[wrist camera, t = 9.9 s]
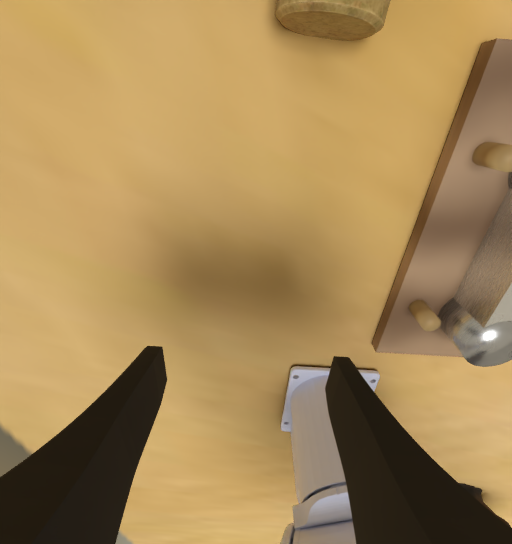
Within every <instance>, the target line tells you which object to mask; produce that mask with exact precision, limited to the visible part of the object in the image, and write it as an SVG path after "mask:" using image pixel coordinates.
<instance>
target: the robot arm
mask: <svg viewBox="0 0 512 544" xmlns="http://www.w3.org/2000/svg"><path fill="white" fill-rule="evenodd" d="M379 379H380V375H379V372H378V371H373V370H358V369H357V368H356V367H355V365H354V364H353V362H352V361H351V360H350V358H349V357H335V356H334V358H333V362H332V365H331V368H319V367H301V366H295V367H292V368H291V370H290V376H289V382H288V387H287V393H286V398H285V404H284V409H283V415H282V420H281V430H282V431H286V432H291V443H292V454H293V465H294V476H295V487H296V494H297V499H298V502H299V504H298V505H294V506H293V518H294V523H291V524H289V525H288V526H287V527H286V529H285V531H284V533H283V537H282V540H281V542H280V544H512V528H511V527H509V526H508V525H507V524H506V523H504V522H503V521H502V520H500V519H499V518H498V517H497V516H496V515H494V514H493V513H492V512H491V511H490V510H488V509H487V508H486V507H485V506H484V505H483V504H481V503H480V502H479V501H478V500H477V499H475V498H474V497H473V496H472V495H471V494H470V493H469V492H467V491H466V490H465V489H464V488H463V487H462V486H461V485H460V484H459V483H458V482H457V481H455V480H454V479H453V478H452V477H451V476H450V475H449V474H448V473H447V472H446V471H445V470H444V469H442V468H441V467H440V466H439V465H438V464H437V463H436V462H435V461H434V460H433V459H432V458H431V457H430V456H429V455H428V454H427V453H426V452H425V451H424V450H423V449H422V448H421V447H420V446H419V445H418V443H417V442H416V441H415V440H414V439H413V438H412V437H411V436H410V435H409V434H408V433H407V431H406V430H405V429H404V428H403V427H402V426H401V425H400V423H399V422H398V421H397V420H396V419H395V418H394V416H393V415H392V414H391V413H390V412H389V410H388V409H387V408H386V407H385V405H384V404H383V403H382V402H381V400H380V399H379V398H378V396H377V395H376V394H375V393H374V390H375V388H376V386H377V383H378V381H379ZM166 382H167V376H166V369H165V362H164V355H163V349H162V347H157V346H147V347H146V348H145V349H144V350H143V351H142V352H141V353H140V354H139V355H138V357H137V358H136V359H135V360H134V361H133V362H132V363H131V364H130V366H129V367H128V368H127V369H126V370H125V371H124V372H123V373H122V374H121V375H120V376H119V377H118V378H117V379H116V381H115V382H114V383H113V384H112V385H111V386H110V387H109V388H108V389H107V390H106V391H105V392H104V393H103V394H102V395H101V396H100V397H99V398H98V399H97V400H96V401H94V402H93V403H92V404H91V405H90V406H89V407H88V408H87V409H86V410H85V411H84V412H83V413H82V414H81V415H79V416H78V417H77V418H76V419H75V420H74V421H73V422H72V423H70V424H69V425H68V426H67V427H66V428H64V429H63V430H62V431H61V432H60V433H59V434H57V435H56V436H55V437H54V438H52V439H51V440H50V441H49V442H47V443H46V444H45V445H43V446H42V447H41V448H40V449H38V450H37V451H36V452H35V453H33V454H32V455H31V456H29V457H28V458H27V459H25V460H24V461H23V462H21V463H20V464H18V465H17V466H15V467H14V468H13V469H11V470H10V471H8V472H7V473H6V474H4V475H3V476H1V477H0V544H115V543H116V539H117V535H118V531H119V528H120V524H121V520H122V517H123V513H124V509H125V506H126V502H127V499H128V495H129V492H130V488H131V485H132V481H133V478H134V475H135V472H136V469H137V466H138V463H139V460H140V458H141V455H142V452H143V450H144V447H145V444H146V442H147V439H148V437H149V434H150V431H151V429H152V426H153V424H154V421H155V418H156V416H157V413H158V410H159V408H160V405H161V401H162V398H163V394H164V390H165V386H166Z"/></svg>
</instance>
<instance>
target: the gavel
mask: <svg viewBox="0 0 512 544" xmlns="http://www.w3.org/2000/svg"><path fill="white" fill-rule="evenodd" d="M389 4H390V0H277V3H276V11H275V15H276V18H277V19H278V20H279V21H280V23H281V24H282V25H283V26H284V27H286V28H288V29H290V30H292V31H294V32H297V33H300V34H303V35H309V36H315V37H322V38H328V39H334V40H355V39H362V38H366V37H369V36H372V35H373V34H375V33H376V32H378V31H379V30H381V29H382V28H383V26H384V22H385V18H386V15H387V11H388V7H389Z"/></svg>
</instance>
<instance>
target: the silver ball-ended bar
mask: <svg viewBox="0 0 512 544" xmlns="http://www.w3.org/2000/svg"><path fill="white" fill-rule="evenodd" d="M508 186H509V189H508V191H507V193H506V195H505V197H504V199H503V201H502V203H501V205H500V207H499V209H498V211H497V213H496V215H495V217H494V219H493V221H492V223H491V225H490V227H489V229H488V230H487V232H486V234H485V236H484V238H483V240H482V242H481V244H480V246H479V248H478V250H477V252H476V254H475V256H474V258H473V260H472V262H471V264H470V266H469V268H468V270H467V272H466V274H465V276H464V278H463V279H462V281H461V283H460V285H459V287H458V289H457V291H456V293H455V295H454V297H453V298H452V299H451V300H449V301H448V302H447V303H446V304H445V305H444V306H443V307H442V308H441V310H440V311H439V313H438V316H437V317H438V318H439V319H440V320H441V325H440V326H439V327H440V328H441V330H442V331H443V332H444V333H445V335H446V336H447V337H448V338H449V339H450V341H451V342H452V343H453V344H454V346H455V347H456V348H457V349H458V350H459V352H460V353H461V354H462V355H463V357H464V358H465V359H466V360H467V361H468V362H469V363H471V364H473V365H476V366H482V367H488V366H495V365H499V364H503V363H505V362H508V361H510V360H512V172H509V175H508Z"/></svg>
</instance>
